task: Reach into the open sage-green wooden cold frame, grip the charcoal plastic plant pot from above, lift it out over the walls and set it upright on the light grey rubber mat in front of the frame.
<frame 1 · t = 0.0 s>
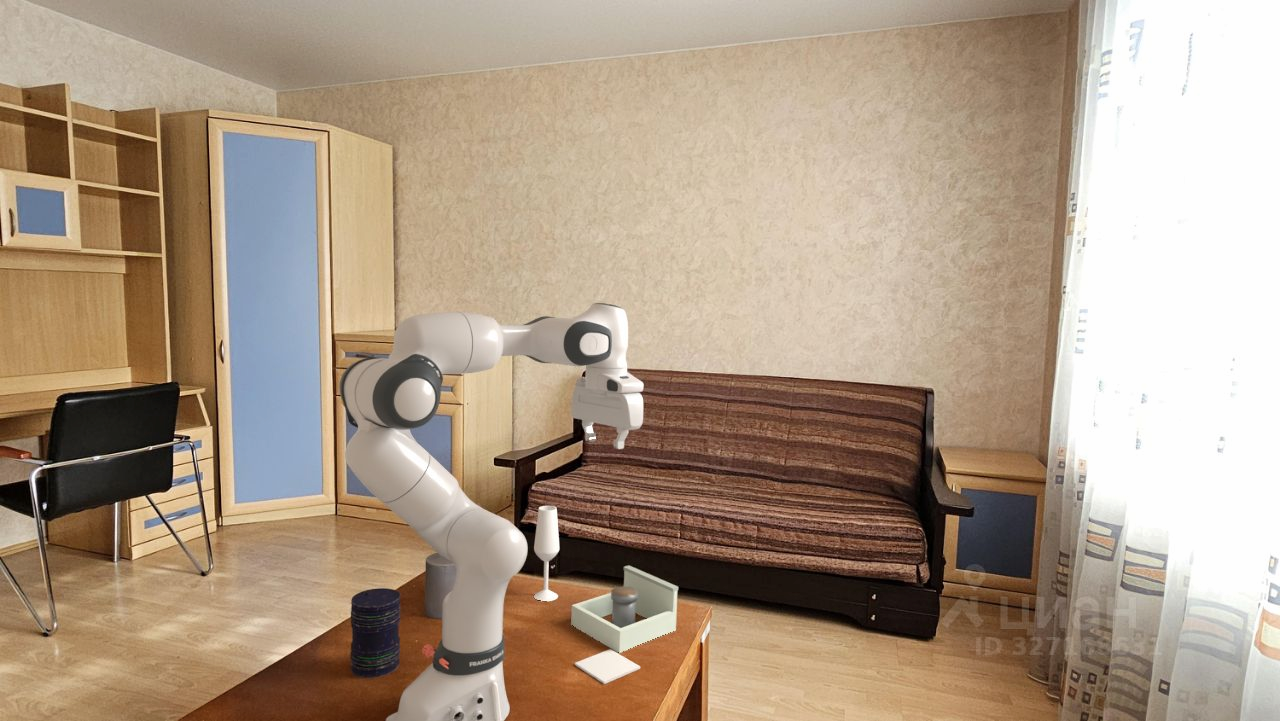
hand: (604, 444, 150), 48 cm above the table, tool pointing down, fingers open, 8 cm apart
pillar candle: (444, 611, 177), on the table
champagne flute: (545, 597, 188), on the table
ceramic vessel: (476, 595, 187), on the table
cold frame: (623, 627, 171), on the table
mat: (607, 666, 152), on the table
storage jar: (375, 666, 149), on the table
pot: (623, 628, 171), resting in cold frame
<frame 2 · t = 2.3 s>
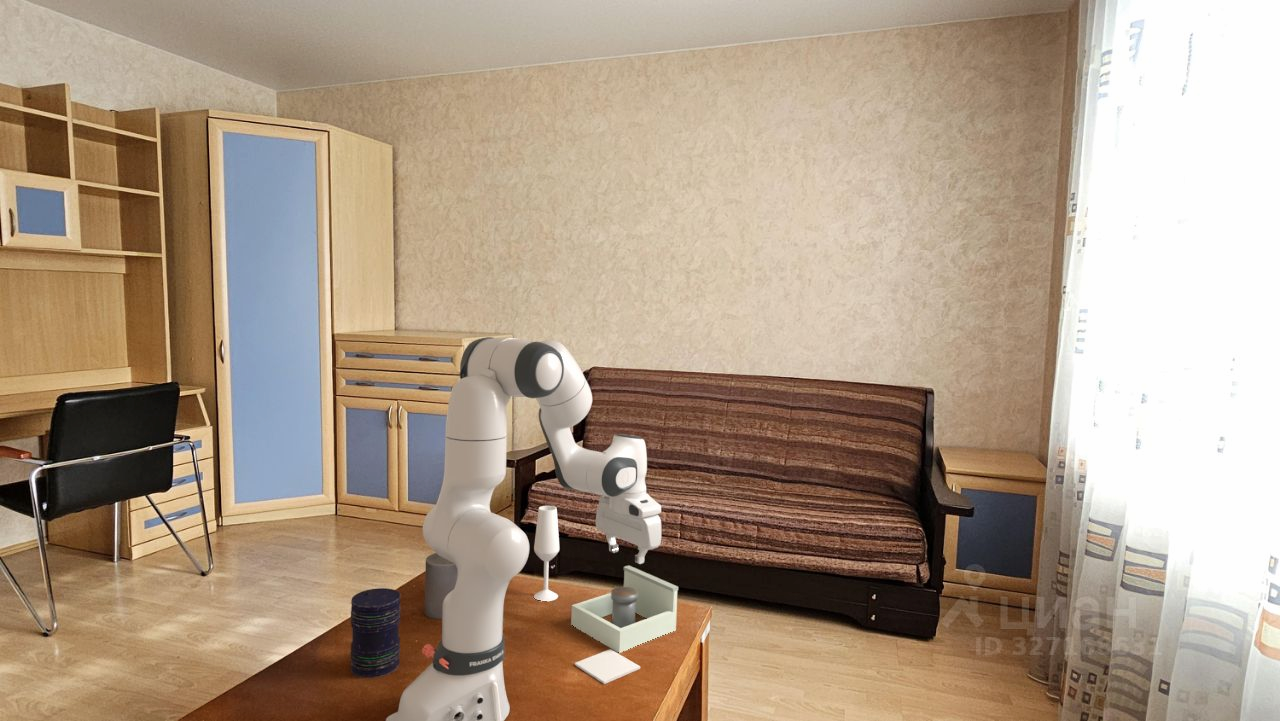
hand: (626, 557, 170), 18 cm above the table, tool pointing down, fingers open, 8 cm apart
nothing on the table moved.
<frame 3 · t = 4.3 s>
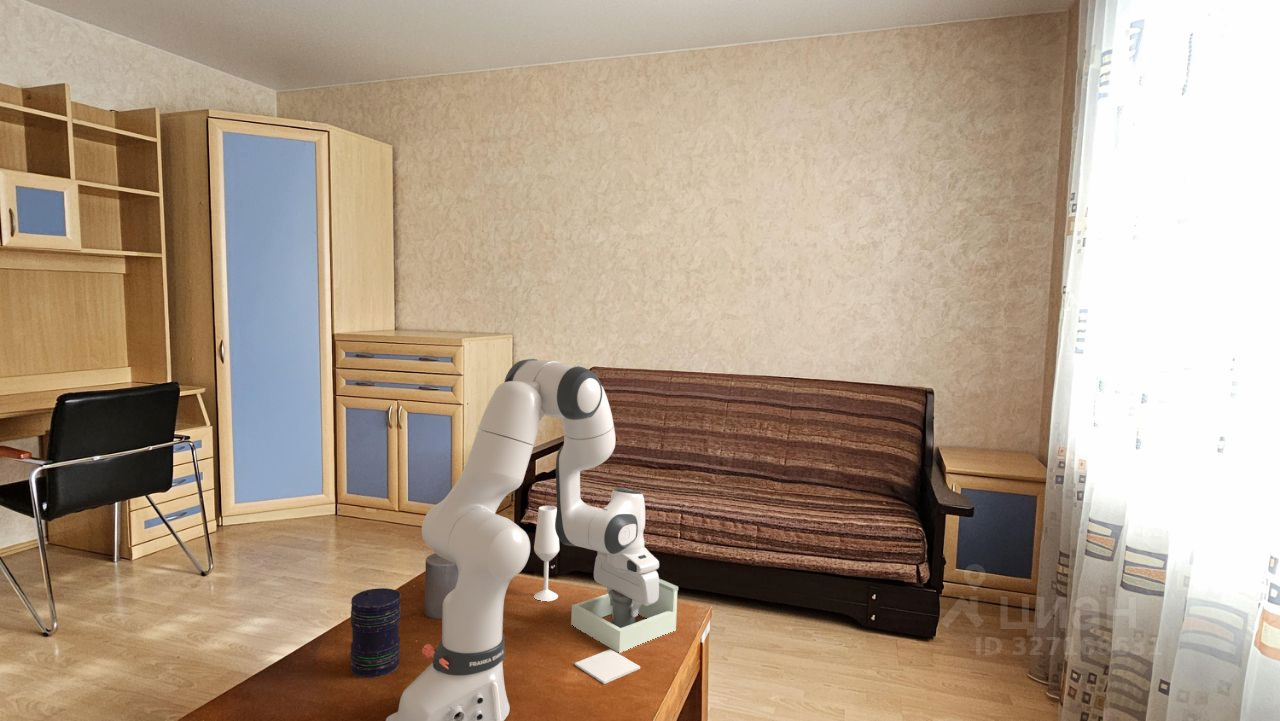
hand: (623, 610, 170), 4 cm above the table, tool pointing down, fingers closed on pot, 6 cm apart
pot: (623, 627, 171), resting in cold frame, touching gripper
everything else where it was.
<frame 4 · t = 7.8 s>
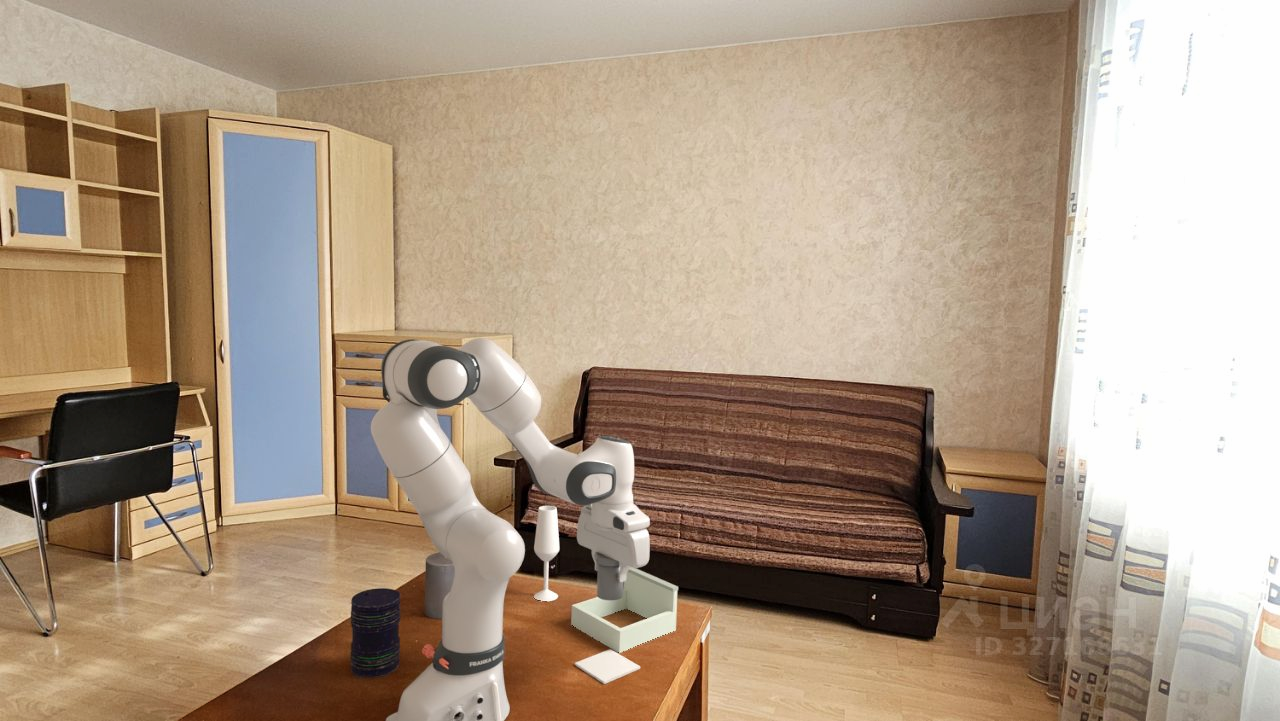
hand: (610, 575, 150), 20 cm above the table, tool pointing down, fingers closed on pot, 6 cm apart
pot: (610, 595, 151), point 16 cm above the table, touching gripper
everything else where it was.
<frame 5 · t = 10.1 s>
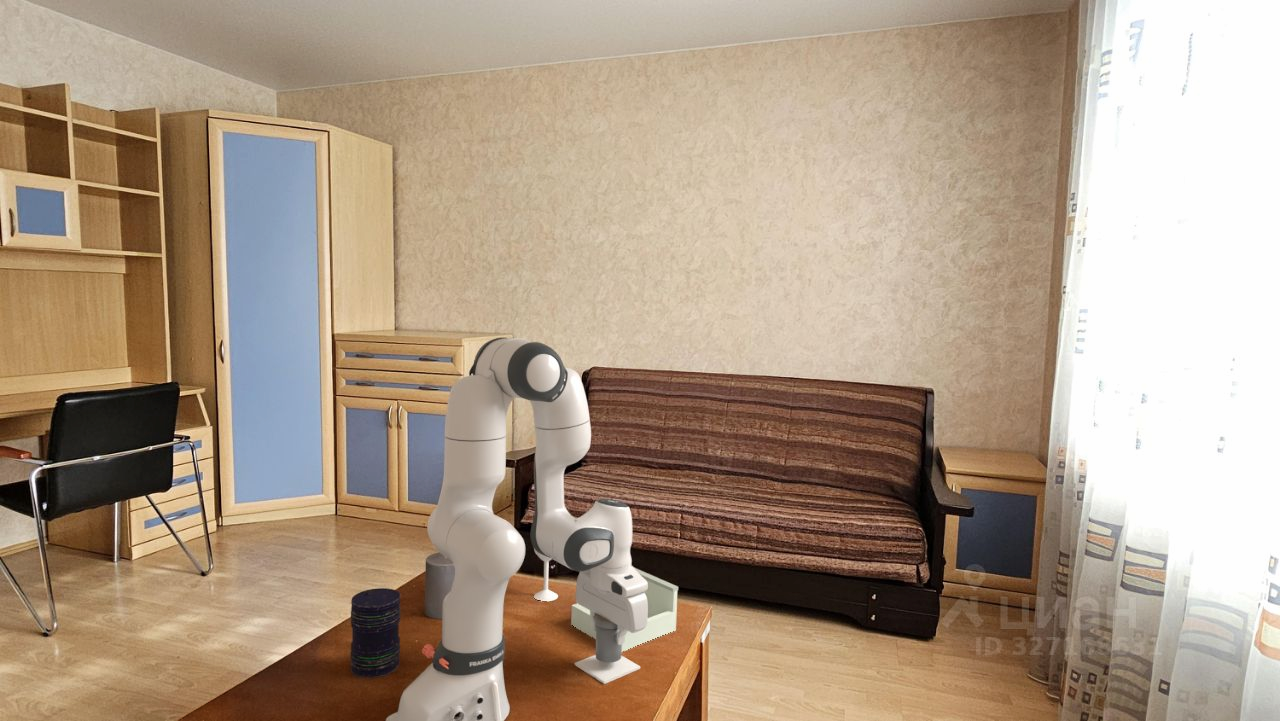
hand: (608, 637, 151), 7 cm above the table, tool pointing down, fingers closed on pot, 6 cm apart
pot: (608, 656, 152), point 2 cm above the table, touching gripper
everything else where it was.
when the fingers open (6 cm above the table, at t = 11.1 s): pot drops 1 cm, resting on mat.
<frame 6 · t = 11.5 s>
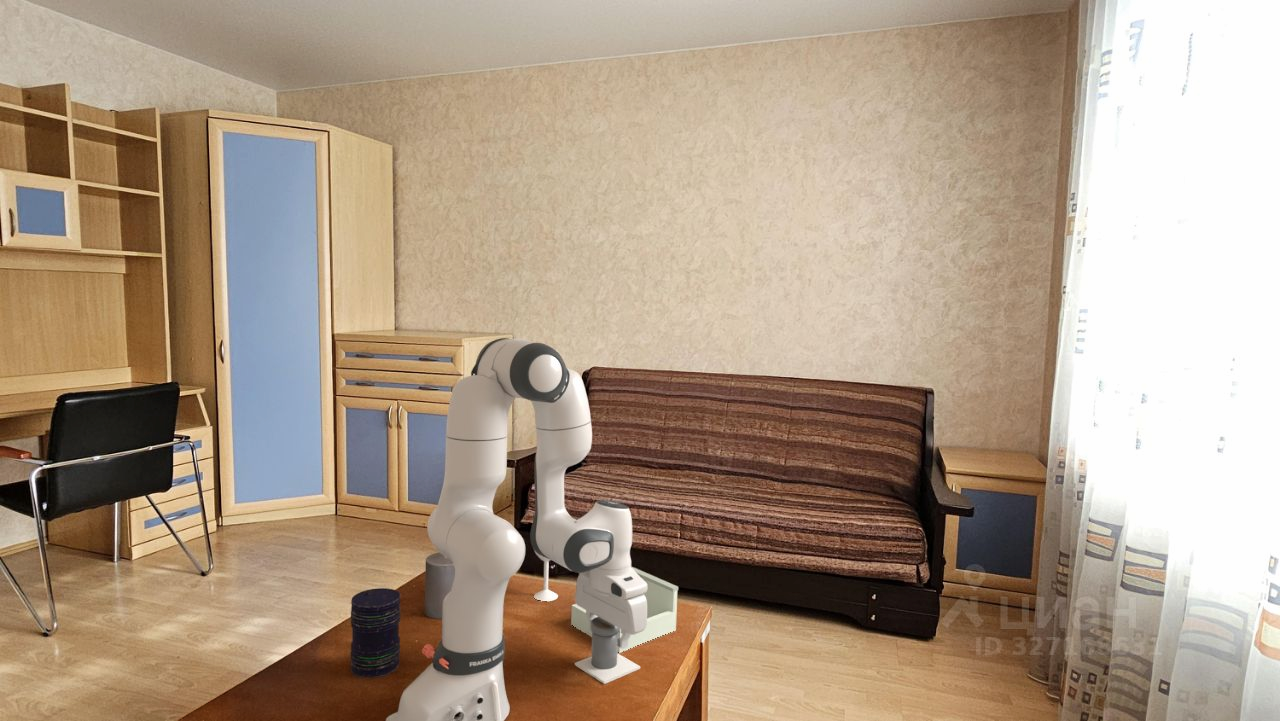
hand: (608, 638, 151), 6 cm above the table, tool pointing down, fingers open, 8 cm apart
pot: (604, 662, 152), point 1 cm above the table, touching gripper, mat
everything else where it was.
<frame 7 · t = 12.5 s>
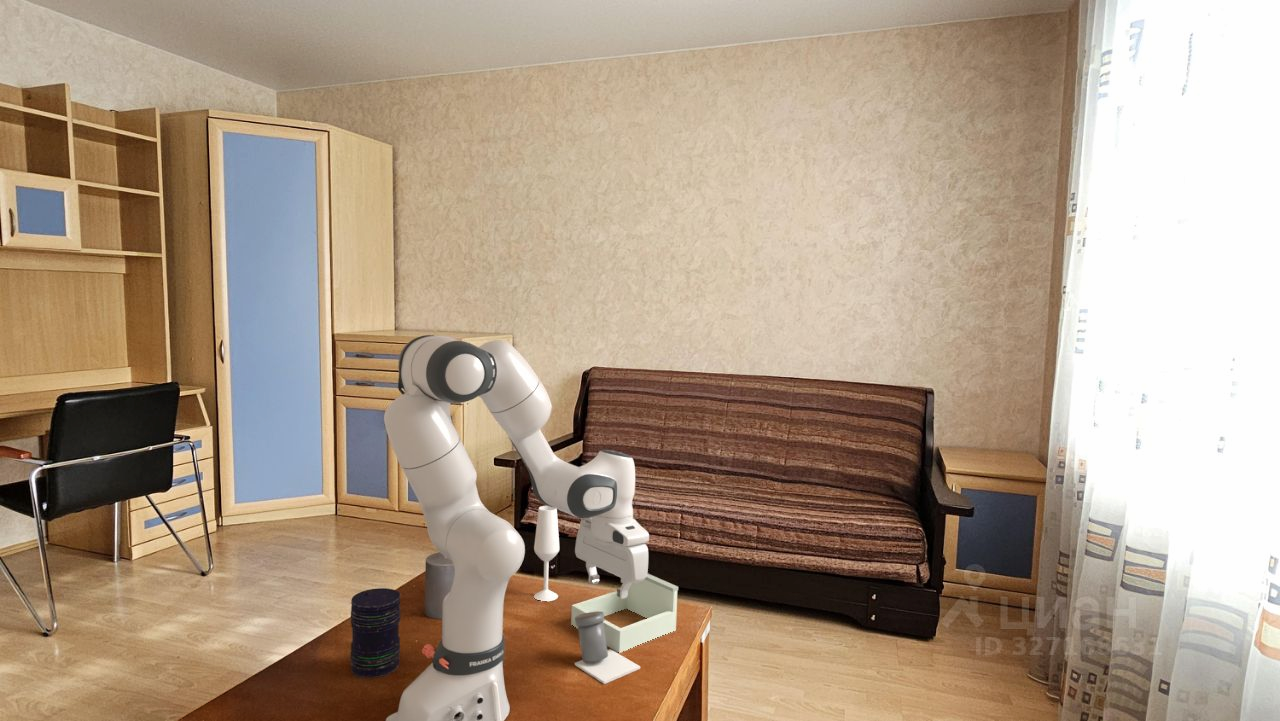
hand: (607, 590, 150), 17 cm above the table, tool pointing down, fingers open, 8 cm apart
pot: (595, 657, 153), point 1 cm above the table, tilted 17°, touching mat
everything else where it was.
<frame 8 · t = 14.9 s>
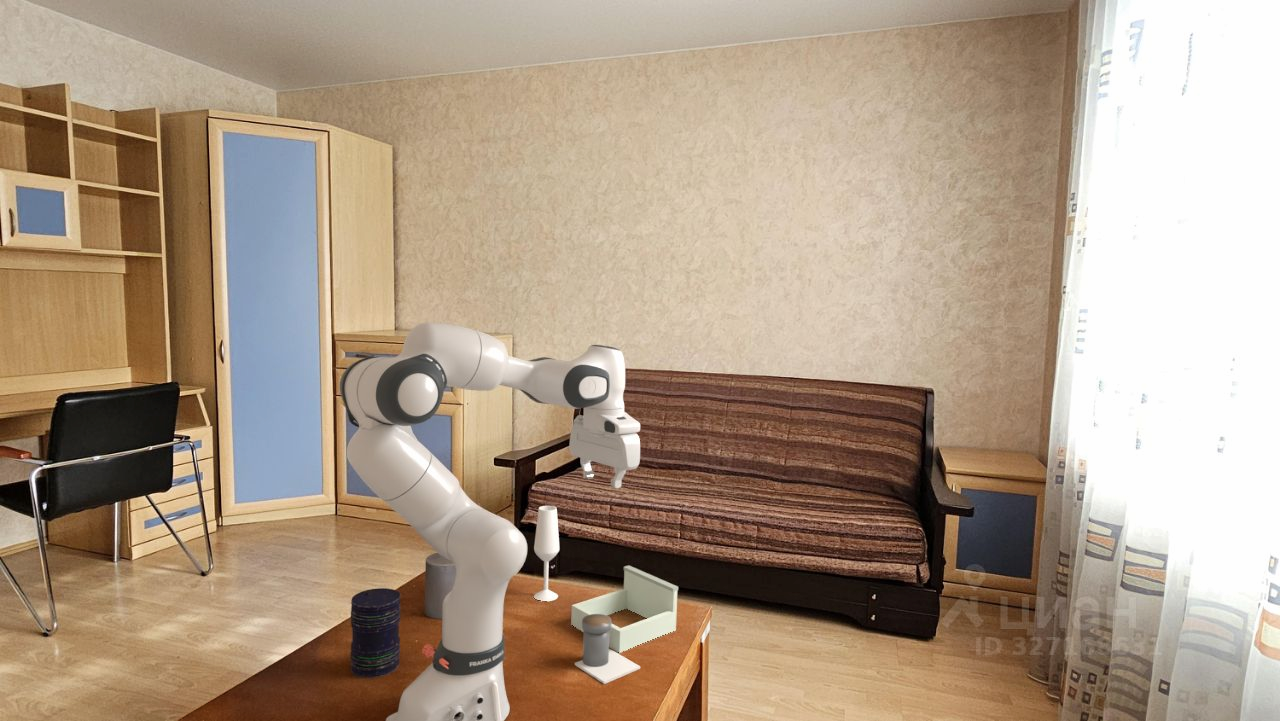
hand: (601, 482, 153), 39 cm above the table, tool pointing down, fingers open, 8 cm apart
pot: (595, 660, 153), resting on mat
everything else where it was.
at the end: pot inside the target area on the mat (3.1 cm from its centre), point 0.5 cm above the mat's base; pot tilted 0°; the gripper is holding nothing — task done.
